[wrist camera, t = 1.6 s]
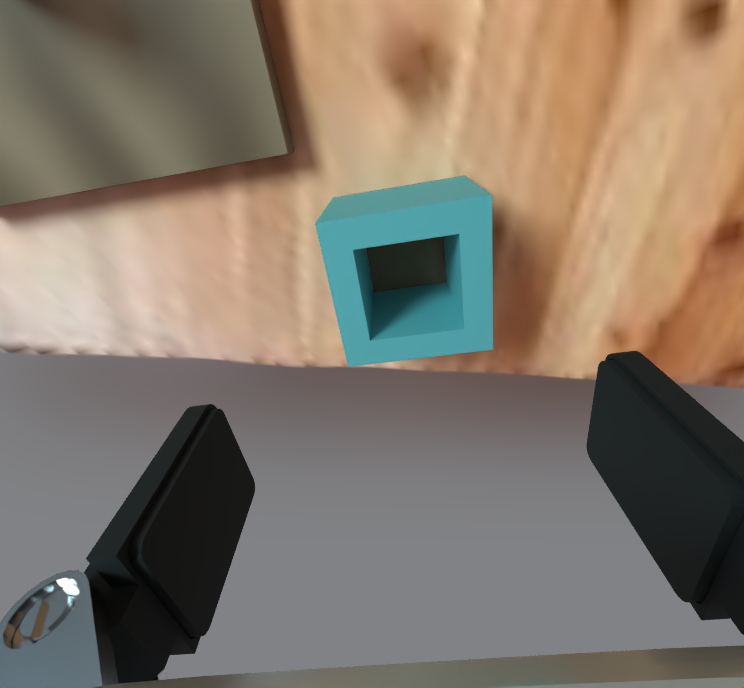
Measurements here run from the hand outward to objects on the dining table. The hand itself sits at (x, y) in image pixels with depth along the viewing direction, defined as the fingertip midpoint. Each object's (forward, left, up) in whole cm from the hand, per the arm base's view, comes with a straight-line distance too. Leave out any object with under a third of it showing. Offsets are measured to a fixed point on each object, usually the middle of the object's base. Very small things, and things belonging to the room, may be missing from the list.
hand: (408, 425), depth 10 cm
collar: (-1, 0, -14) cm, 14 cm away
